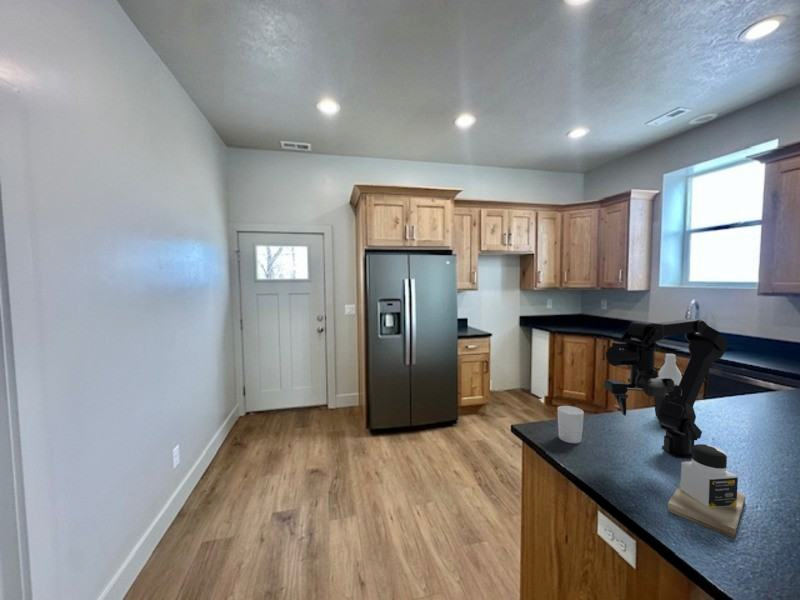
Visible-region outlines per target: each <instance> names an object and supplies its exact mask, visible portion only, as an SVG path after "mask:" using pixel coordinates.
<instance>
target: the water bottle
mask: <svg viewBox="0 0 800 600" xmlns="http://www.w3.org/2000/svg"><path fill="white" fill-rule="evenodd" d="M676 362H677V358H676V354H674V353H665V358H664V364H663V365H662V366H661V368H660V369H659V370H658V378H663V379H664V378H671V379H672V380H673V381H674V384H676V385H678V386H679V384H680V381H681V379H682V377H683V375H682V373H681V371H680V369H679V368H678V366H677V363H676Z"/></svg>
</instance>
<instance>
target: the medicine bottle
mask: <svg viewBox="0 0 800 600" xmlns="http://www.w3.org/2000/svg"><path fill="white" fill-rule="evenodd" d="M680 465H681V467H680V469H681V470H680V483H681V490H682V491H683V492H685V493H686V494H688V495H690V496H691V497H693V498H694V499H696V500H697V501H699V502H700V503H702V504H703V505H705V506H706V507H708V508H718V507H731V506H737V492H738V485H739V484H738V483H739V477H738V475H736V474H735V473H733V472H730V471H728V470H727V469H728V468H727V467H728V455H727V453H726V452H725V451H724V450H722V449H720V448H718V447H716V446H713V445H710V444H702V443H700V444H699V443H697V444H694V446H693V447H692V458H691V460H690V461H682V462H681V463H680Z"/></svg>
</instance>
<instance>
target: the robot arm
mask: <svg viewBox="0 0 800 600" xmlns="http://www.w3.org/2000/svg"><path fill="white" fill-rule="evenodd" d="M678 335H684V338H685V340H687V342H689V344H688V352H689V353H690V358H689V361H688V363H687V366H686V368H685V369H684V373H683V375H682V378H681V381H680V384H679V386H678V385H676V384H674V381H673V380H672V379H671V378H664V379H663V378H659V375H658V374H659V371H658V370H657V369H655V357H656V355H655V354H656V352H655V351H656V350H661V349H662V347H661V346H660V345H659V344H657V343H658V342H660V341H663V339H664V338H667V337H673V336H678ZM728 347H729V342H728V340H727V339H726V337H725V336H724V335H722V333H720V331H718V330H717V329H714V328H712V327H711V326H710V325H708V324H707V322H705V321H704V320H702V319H696V318H695V319H694V318H684V319H679V320H671V321H663V322H662V321H661V322H648V321H638V320H634V321H631V322H629V325H628V326H627V328H626V330H625V331H624V332H623V335H622V336H621V338H620V339H619V341H617V342H615V341H614V342H612V343H611V346H609V347H608V348H607V351H606V352H605V357H606V360H607V362H608V364H609V365H611V366H613V367H623V366H628V367H627V369H629V370H630V371H629V372H630V375H629V376H630V377H627V382H628V383H626V382H625V383H624V382H623V381H621V380H619V379H606V380H605V381H604V383H603V388H604V389H605V390H607V391H608V392H609V393H611V394H613V396H614V398H615V400H616V402H617V405H618V407H619V409H620V411H621V414H622V415H623V416H626V415H627V398H628V397H629V395H628V394H627V392H628V391H638V392H639V391H640V392H644V393H645V395H647V396H648V397H654V400H653V401H654V414H655V417H657V419H658V423H659V425H660V429H662V430H664V431H665V435H663V445H661V448H662V449H664V450H665V451H666V452H667V453H669V454H670V455H671V456H672V457H675V458H686V459H692V447H693V446H694V445H695V441H698V440H699V439H701V437H702V434H703V431H702V430H701V429H700V428H699V426H698V425H697V424H696V423H695V422H696V418H697V416H696V412H695V408H694V405H695V402H696V400H697V398H698V396H699V394H700V391H701V388H702V386H703V384H704V381H705V379H706V377H707V375H708V373H709V370H710V367H711V365H712V364H714V363H715V362H717V361H718V360H720V359H721V358H722V357H723V356H724V354H725V353H726V351H727V349H728Z"/></svg>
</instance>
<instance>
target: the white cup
mask: <svg viewBox="0 0 800 600" xmlns="http://www.w3.org/2000/svg"><path fill="white" fill-rule="evenodd" d="M584 416H585V415H584V410H583V409H581V408H579V407H576V406H571V405H561V406H558V407H557V428H558V438H559V439H560V440H561V441H563V442H564V443H565V442H566V443H568V444H579V443H581V442H582V435H583V426H584Z"/></svg>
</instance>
